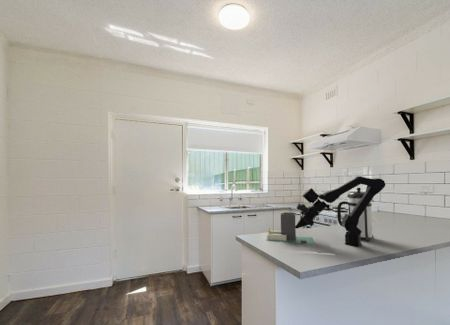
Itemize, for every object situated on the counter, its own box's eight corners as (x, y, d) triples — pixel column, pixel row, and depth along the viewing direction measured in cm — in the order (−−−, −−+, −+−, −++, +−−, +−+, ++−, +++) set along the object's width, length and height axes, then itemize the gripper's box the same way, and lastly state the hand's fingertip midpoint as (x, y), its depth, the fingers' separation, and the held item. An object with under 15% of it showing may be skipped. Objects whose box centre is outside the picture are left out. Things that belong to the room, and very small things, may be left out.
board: (312, 238, 133) (312, 227, 134) (315, 245, 120) (315, 233, 120) (267, 235, 140) (267, 225, 140) (266, 242, 126) (266, 230, 126)
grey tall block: (295, 238, 131) (294, 212, 132) (295, 240, 127) (295, 213, 127) (281, 237, 133) (280, 211, 134) (281, 239, 128) (280, 212, 129)
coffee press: (366, 234, 143) (364, 186, 144) (381, 241, 127) (378, 188, 129) (337, 233, 144) (336, 186, 146) (348, 240, 128) (346, 188, 130)
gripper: (303, 197, 138) (285, 214, 140) (306, 200, 120) (285, 220, 122) (317, 210, 136) (298, 228, 138) (323, 216, 118) (301, 236, 120)
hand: (295, 227), depth 129 cm, fingers closed, pressing on grey tall block
